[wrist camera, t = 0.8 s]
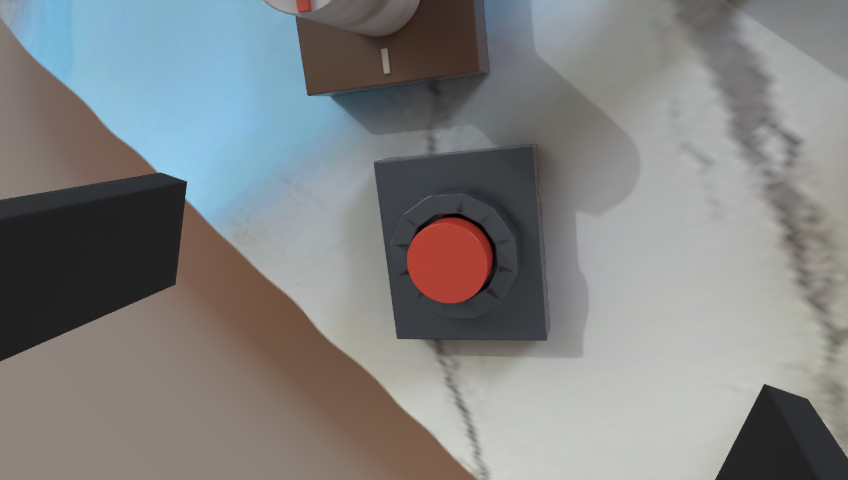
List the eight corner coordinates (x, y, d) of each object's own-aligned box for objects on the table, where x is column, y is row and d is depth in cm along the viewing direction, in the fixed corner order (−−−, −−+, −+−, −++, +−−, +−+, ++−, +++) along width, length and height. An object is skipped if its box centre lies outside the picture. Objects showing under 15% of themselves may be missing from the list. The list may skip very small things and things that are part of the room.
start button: (411, 219, 34) (402, 225, 32) (489, 214, 32) (483, 220, 31) (420, 294, 35) (411, 304, 33) (496, 293, 33) (491, 303, 32)
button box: (385, 158, 37) (361, 164, 34) (536, 143, 34) (528, 148, 31) (407, 327, 40) (387, 350, 36) (550, 327, 37) (544, 353, 33)
